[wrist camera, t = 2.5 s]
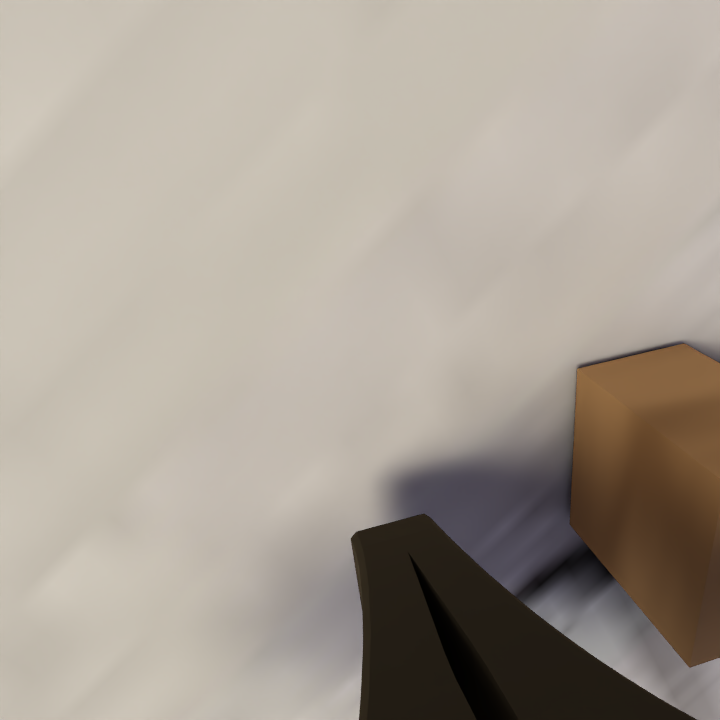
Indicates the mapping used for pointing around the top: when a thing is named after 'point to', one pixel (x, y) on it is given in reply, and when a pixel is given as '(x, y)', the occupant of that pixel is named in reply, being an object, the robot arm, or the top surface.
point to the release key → (654, 487)
